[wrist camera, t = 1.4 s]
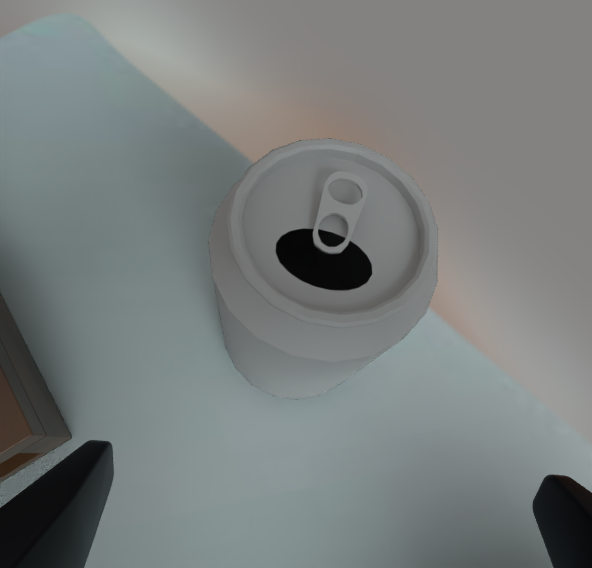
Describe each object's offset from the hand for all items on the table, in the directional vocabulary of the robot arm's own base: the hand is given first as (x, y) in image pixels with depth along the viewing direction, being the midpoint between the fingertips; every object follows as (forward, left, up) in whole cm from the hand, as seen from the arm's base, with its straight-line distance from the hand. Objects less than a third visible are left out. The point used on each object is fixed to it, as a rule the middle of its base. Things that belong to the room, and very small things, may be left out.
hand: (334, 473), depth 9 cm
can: (+6, -2, -13) cm, 15 cm away
